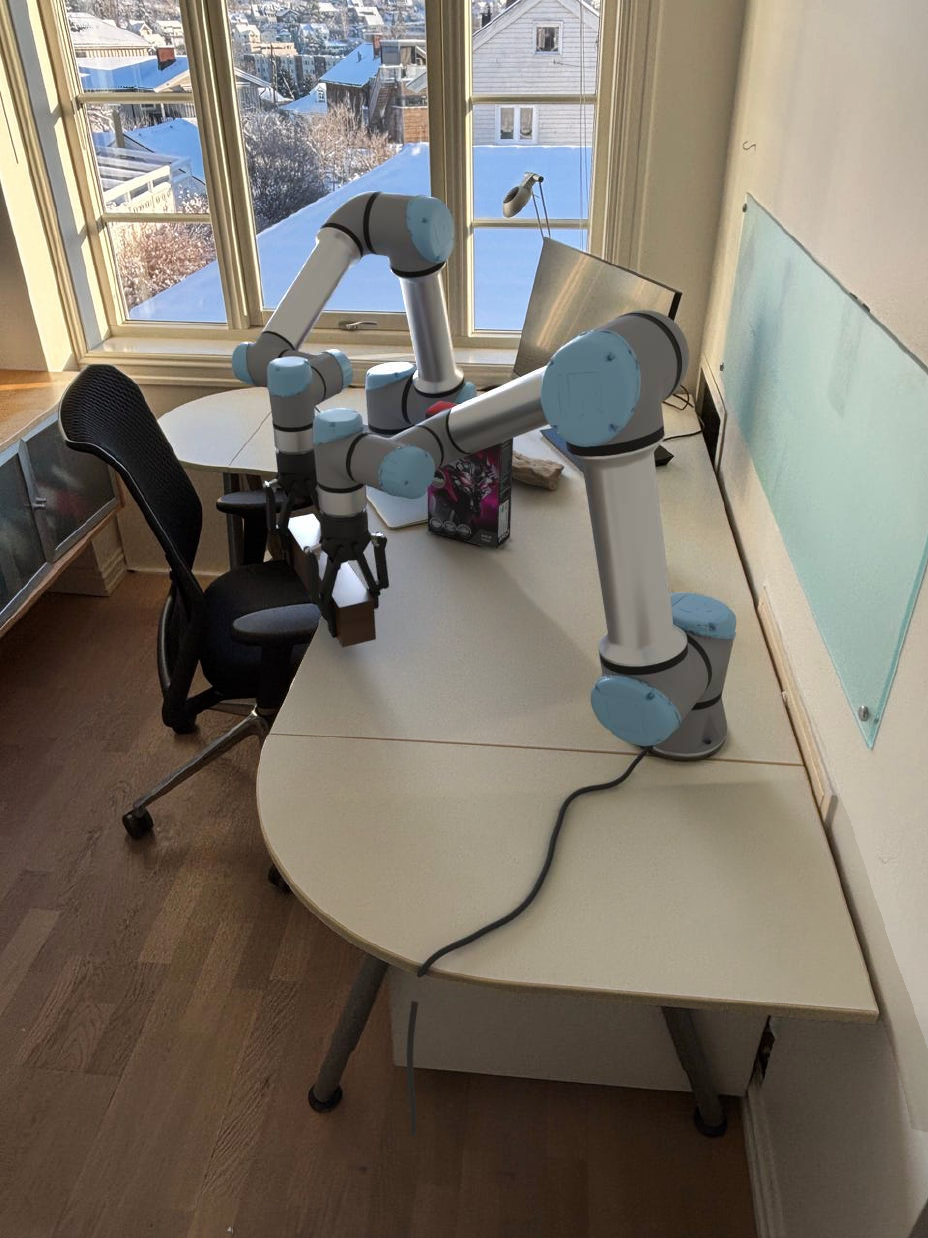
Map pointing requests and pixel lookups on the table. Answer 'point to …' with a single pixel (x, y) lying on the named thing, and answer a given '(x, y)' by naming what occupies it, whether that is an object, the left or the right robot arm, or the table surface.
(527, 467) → the stone
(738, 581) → the table surface
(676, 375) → the right robot arm
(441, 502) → the graphics card box
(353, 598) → the beam
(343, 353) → the left robot arm
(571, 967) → the table surface
